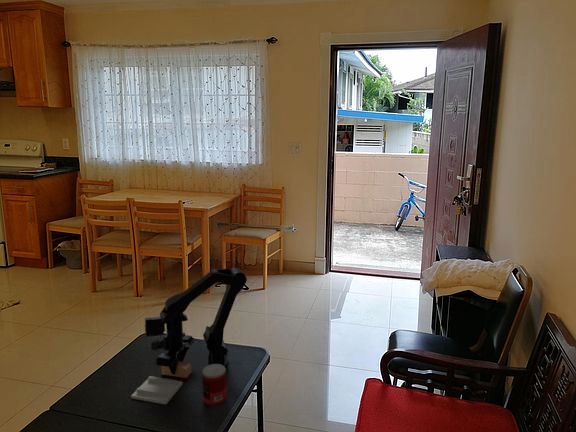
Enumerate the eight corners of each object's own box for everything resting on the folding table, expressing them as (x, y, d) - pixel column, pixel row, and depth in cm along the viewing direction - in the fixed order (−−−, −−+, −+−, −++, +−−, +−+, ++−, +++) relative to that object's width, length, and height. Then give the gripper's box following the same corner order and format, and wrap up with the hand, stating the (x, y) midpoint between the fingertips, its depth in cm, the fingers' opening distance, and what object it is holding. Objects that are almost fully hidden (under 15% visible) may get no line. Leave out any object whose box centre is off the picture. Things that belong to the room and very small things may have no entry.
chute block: (191, 372, 170) (191, 363, 169) (186, 378, 167) (186, 368, 166) (166, 369, 172) (166, 359, 172) (161, 375, 169) (161, 365, 168)
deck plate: (182, 384, 162) (182, 378, 162) (165, 404, 151) (165, 397, 151) (150, 379, 166) (149, 372, 165) (131, 398, 154) (130, 391, 154)
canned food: (230, 394, 157) (229, 365, 154) (219, 408, 149) (218, 378, 147) (210, 390, 159) (209, 361, 157) (198, 403, 152) (197, 373, 149)
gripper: (167, 318, 177) (169, 355, 180) (141, 341, 159) (143, 381, 162) (193, 322, 174) (195, 359, 177) (169, 345, 156) (172, 386, 160)
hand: (176, 370), depth 169 cm, fingers open, 4 cm apart
